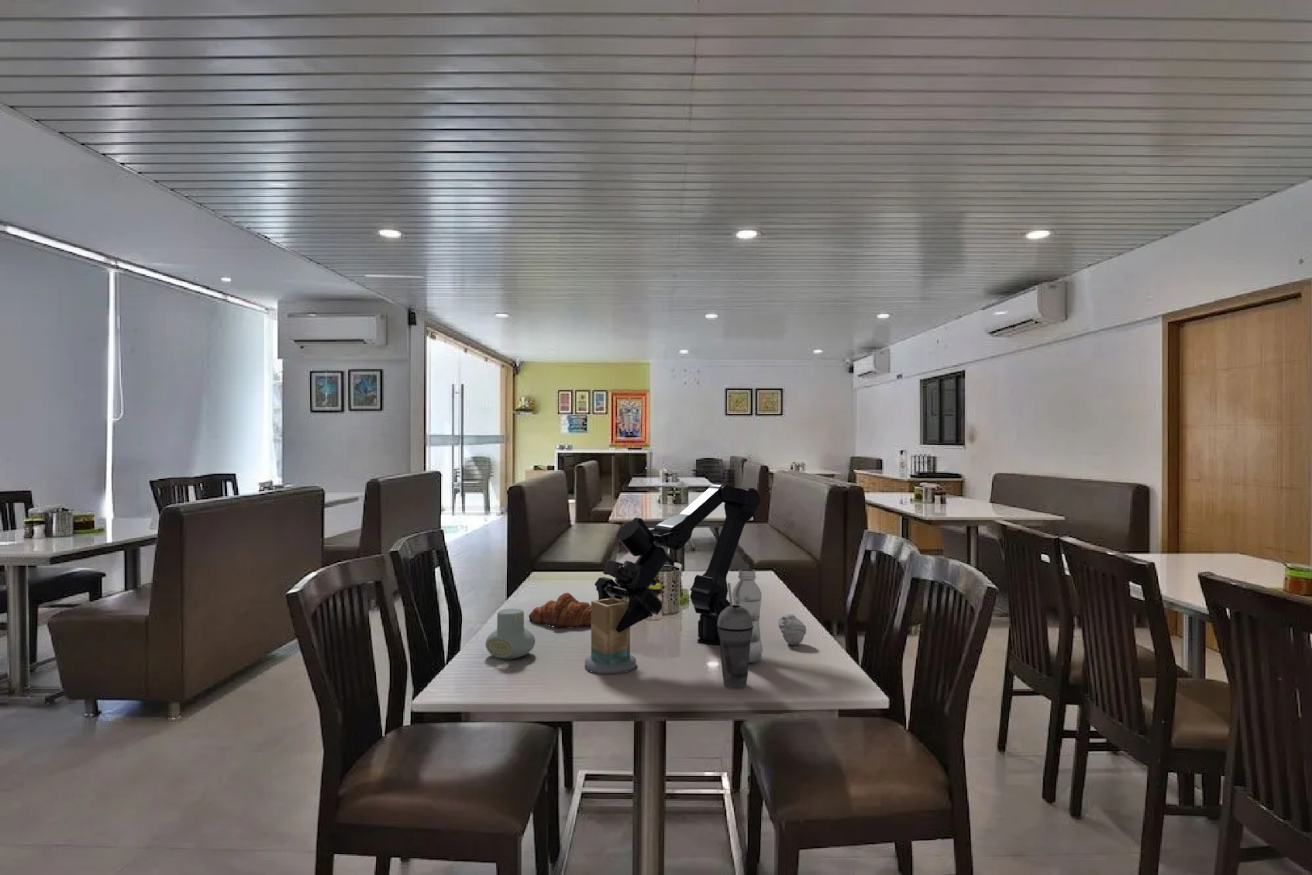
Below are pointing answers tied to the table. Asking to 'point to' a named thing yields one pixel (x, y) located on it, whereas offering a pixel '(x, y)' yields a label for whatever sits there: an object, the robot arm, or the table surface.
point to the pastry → (563, 612)
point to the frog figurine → (792, 629)
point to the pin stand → (612, 669)
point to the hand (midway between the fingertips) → (605, 626)
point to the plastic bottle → (750, 608)
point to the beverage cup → (735, 644)
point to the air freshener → (510, 636)
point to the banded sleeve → (609, 632)
